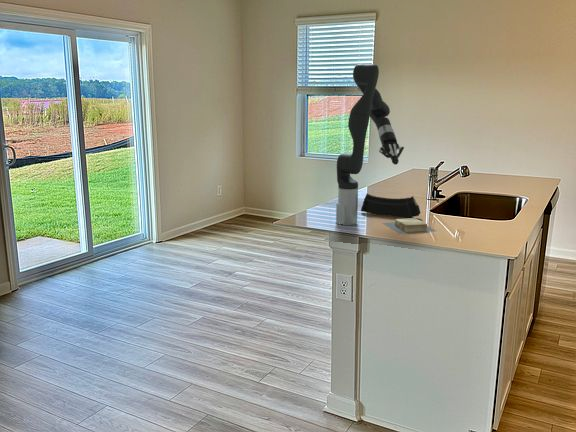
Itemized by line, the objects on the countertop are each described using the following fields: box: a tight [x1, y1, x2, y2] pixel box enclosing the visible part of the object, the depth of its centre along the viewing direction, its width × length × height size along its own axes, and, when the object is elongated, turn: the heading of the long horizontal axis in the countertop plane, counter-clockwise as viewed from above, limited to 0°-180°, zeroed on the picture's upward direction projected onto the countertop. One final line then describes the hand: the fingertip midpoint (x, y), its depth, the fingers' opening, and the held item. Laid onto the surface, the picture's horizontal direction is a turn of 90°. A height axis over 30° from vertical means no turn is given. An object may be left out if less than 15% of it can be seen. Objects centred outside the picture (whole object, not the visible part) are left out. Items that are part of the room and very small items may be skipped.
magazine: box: [360, 192, 421, 218], centre depth 259 cm, size 17×3×30 cm
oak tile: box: [394, 217, 428, 232], centre depth 234 cm, size 3×10×12 cm
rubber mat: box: [382, 221, 437, 234], centre depth 236 cm, size 20×18×1 cm
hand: (396, 163), depth 247 cm, fingers closed
